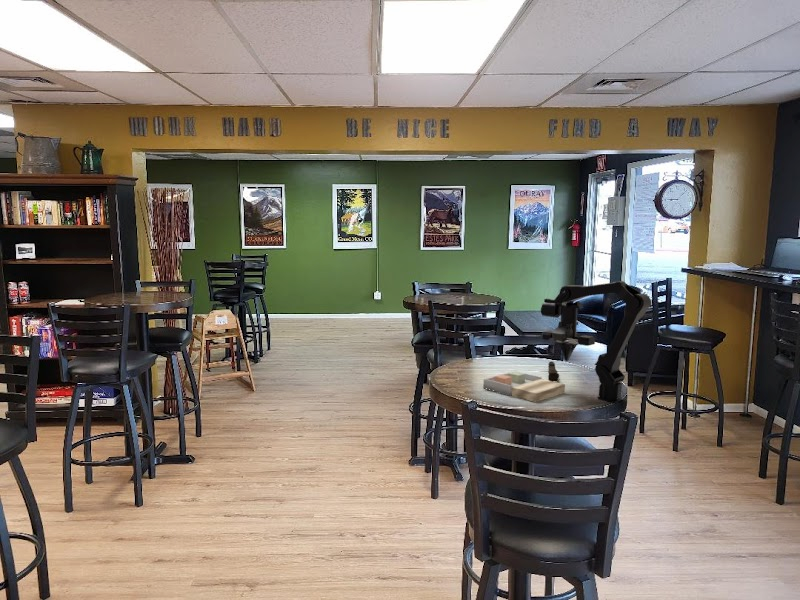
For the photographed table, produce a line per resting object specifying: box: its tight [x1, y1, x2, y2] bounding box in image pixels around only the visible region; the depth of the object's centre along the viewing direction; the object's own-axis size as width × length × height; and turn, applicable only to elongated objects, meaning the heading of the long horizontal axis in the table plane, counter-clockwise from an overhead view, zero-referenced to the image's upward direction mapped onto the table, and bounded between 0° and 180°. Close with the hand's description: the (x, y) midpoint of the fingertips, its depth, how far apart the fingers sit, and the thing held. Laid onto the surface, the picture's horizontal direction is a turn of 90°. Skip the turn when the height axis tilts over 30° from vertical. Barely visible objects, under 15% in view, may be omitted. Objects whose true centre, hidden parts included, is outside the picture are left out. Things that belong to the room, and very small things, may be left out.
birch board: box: [512, 378, 566, 403], centre depth 202 cm, size 10×19×3 cm, turn 134°
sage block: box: [507, 370, 526, 383], centre depth 213 cm, size 4×4×3 cm
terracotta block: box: [494, 374, 512, 385], centre depth 208 cm, size 4×4×3 cm
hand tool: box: [547, 361, 560, 382], centre depth 229 cm, size 19×4×5 cm, turn 166°
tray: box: [482, 370, 543, 397], centre depth 210 cm, size 12×20×4 cm, turn 134°
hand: (566, 360), depth 209 cm, fingers closed
